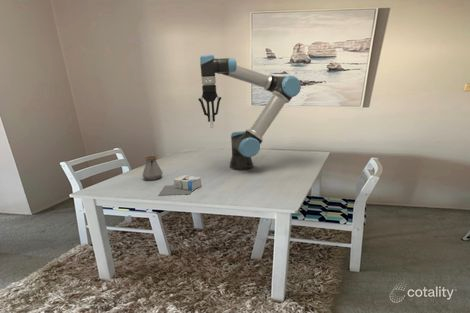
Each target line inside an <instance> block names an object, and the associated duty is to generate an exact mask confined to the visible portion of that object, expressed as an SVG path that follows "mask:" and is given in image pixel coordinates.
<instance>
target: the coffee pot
mask: <svg viewBox="0 0 470 313" xmlns="http://www.w3.org/2000/svg"><path fill="white" fill-rule="evenodd" d="M156 158H157V156H155V155H152V156H151V155H150V156H146V157H144V159H145V161H146V163H145V166H144V169H143V172H142V177H143V178H144V179H146V180H147V181H157V180H159V179H160V178H161V177H162V176H163V173H164V172H163V170H162V169H161V168H160V165H159V164H158V162H157V160H156Z"/></svg>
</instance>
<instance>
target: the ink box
mask: <svg viewBox="0 0 470 313" xmlns="http://www.w3.org/2000/svg"><path fill="white" fill-rule="evenodd" d="M201 178H202V177H200V176H192V175H185V174H183V175H180V176H178V177H176V178H174V179H173V185H174V187H175V188H180V189H186V190H192V191H194V190H196V189H198V188H200V187H201V186H202V179H201Z"/></svg>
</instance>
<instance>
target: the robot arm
mask: <svg viewBox="0 0 470 313" xmlns="http://www.w3.org/2000/svg"><path fill="white" fill-rule="evenodd" d="M199 60H200V63H199V64H200V65H199V66H200V75H201V84H202V86H201V90H202V95H201V96H200V97H199V98H198V101H199V103H200V106H201V108H202V111H203V115H204V116H206V117H207V122H208V123H210V124H209V125H210V126H209V127H210V128H212V129H214V122H215V121H216V119H215V118H216V115H218V114H219V108H220V102H221V99H222V96H219V95H218V93H217V85H216V82H217V80H216V74H218V75H224V76H227V77H229V78H233V79H236V80H239V81H242V82H245V83H249V84H251V85H253V86H254V85H255V86H256V87H257V86H258V87H260V88H263V89H264V90H265V91H268V92H270V93H272V96H271V98H270V99H269V101H268V102H267V104H266V105H265V106H264V108H263V109H262V111H261V113H259V115H258V117H257V118H256V120H255V121H254V123H253V124H252V125H251V127H250V128H249V129H245V130H244V131H233V132H231V134H230V142H231V158H230V162H229V168H230V169H232V170H234V171H235V170H237V171H243V170H250V169H252V168H253V167H254V162H253V160H252V158H253V157H255V156H256V155H257V154H259V152H260V149H261V145H262V142H263V136H264V135H265V133H267V130H268V129H269V128H270V126H271V124H273V122H274V121H275V119H276V118H277V116H278V115H279V113H280V111H281V110H282V109H283V107H284V105H285V104H289V103H290V102H291V100H292V99H293V98H294V97H296V96H297V95H299V93H300V92H301V88H302V86H301V81H300V79H298V78H297V77H296V76H294V75H283V76H276V75H272V74H268V75H266V74H264V73H260V72H258V71H255V70H251V69H248V68H246V67H244V66H240V65H237V60H236V59H235V58H233V57H226V58H225V57H224V58H215V56H214V54H203V55H200V58H199ZM216 100H217V101H216ZM204 101H205V102H206V107H205V104H204ZM215 101H216V109H215ZM210 103H211V109H210ZM210 111H211V112H210Z"/></svg>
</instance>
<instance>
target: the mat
mask: <svg viewBox="0 0 470 313" xmlns="http://www.w3.org/2000/svg"><path fill="white" fill-rule="evenodd" d="M192 192H193V190H186V189H180V188H175V187H174V184H172V185H164V186H163V188H162V189H161V190H160V192H159V194H158V196H159V197H160V196H183V195H184V196H187V195H188V196H189V195H190V196H191V194H192Z"/></svg>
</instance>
